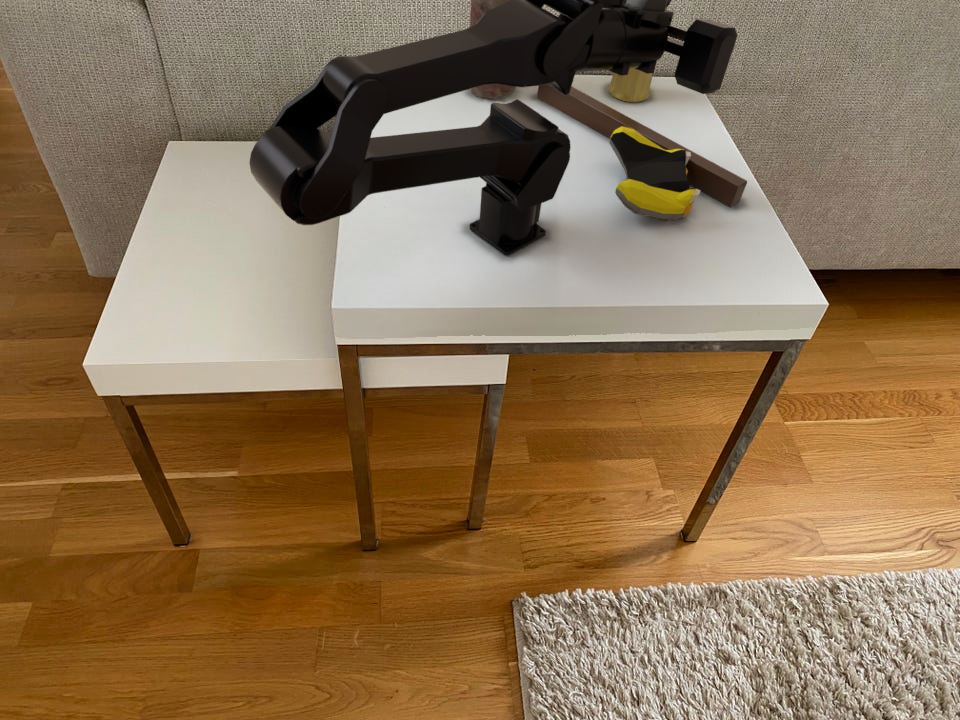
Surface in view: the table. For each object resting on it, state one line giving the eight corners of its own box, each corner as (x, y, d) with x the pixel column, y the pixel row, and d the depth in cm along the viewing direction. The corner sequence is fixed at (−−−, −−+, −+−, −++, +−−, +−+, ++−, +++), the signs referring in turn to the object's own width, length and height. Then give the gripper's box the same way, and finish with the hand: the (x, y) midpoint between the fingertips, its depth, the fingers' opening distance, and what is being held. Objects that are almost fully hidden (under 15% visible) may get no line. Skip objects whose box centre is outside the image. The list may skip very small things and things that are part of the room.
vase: (625, 79, 108) (647, -20, 98) (657, 95, 106) (683, -6, 95) (599, 90, 105) (619, -11, 95) (631, 107, 103) (655, 4, 92)
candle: (464, 75, 106) (470, -74, 91) (512, 76, 107) (526, -73, 92) (469, 100, 101) (476, -54, 86) (519, 100, 102) (535, -53, 87)
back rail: (730, 207, 86) (738, 186, 84) (536, 97, 103) (539, 77, 101) (739, 201, 87) (747, 181, 85) (546, 93, 104) (549, 74, 102)
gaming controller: (610, 228, 82) (695, 235, 82) (619, 188, 78) (709, 195, 78) (603, 159, 92) (679, 165, 92) (611, 120, 88) (690, 127, 88)
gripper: (704, -33, 60) (800, -27, 69) (557, -71, 71) (656, -62, 80) (666, 100, 67) (759, 90, 75) (537, 46, 78) (631, 43, 86)
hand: (699, 36), depth 79 cm, fingers open, 9 cm apart
